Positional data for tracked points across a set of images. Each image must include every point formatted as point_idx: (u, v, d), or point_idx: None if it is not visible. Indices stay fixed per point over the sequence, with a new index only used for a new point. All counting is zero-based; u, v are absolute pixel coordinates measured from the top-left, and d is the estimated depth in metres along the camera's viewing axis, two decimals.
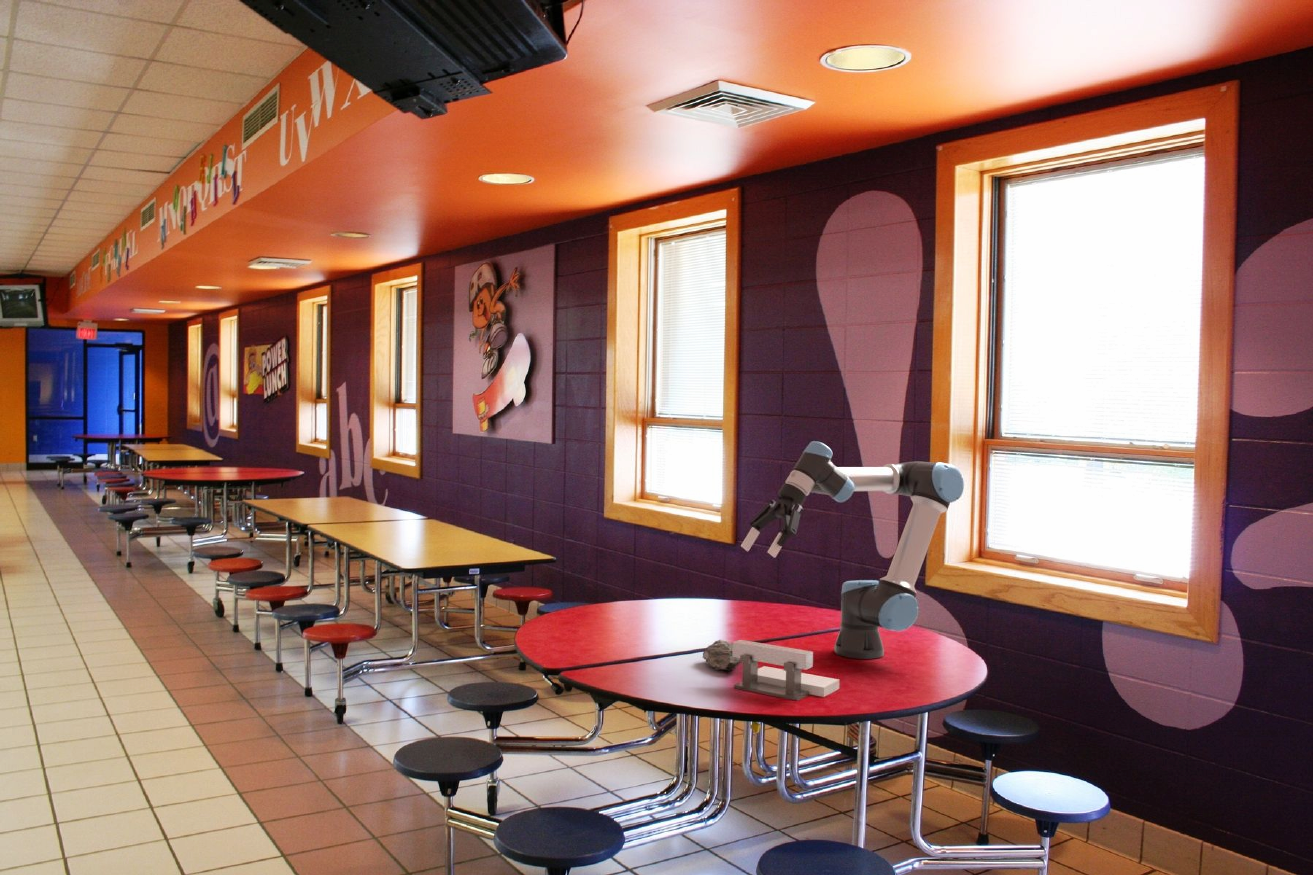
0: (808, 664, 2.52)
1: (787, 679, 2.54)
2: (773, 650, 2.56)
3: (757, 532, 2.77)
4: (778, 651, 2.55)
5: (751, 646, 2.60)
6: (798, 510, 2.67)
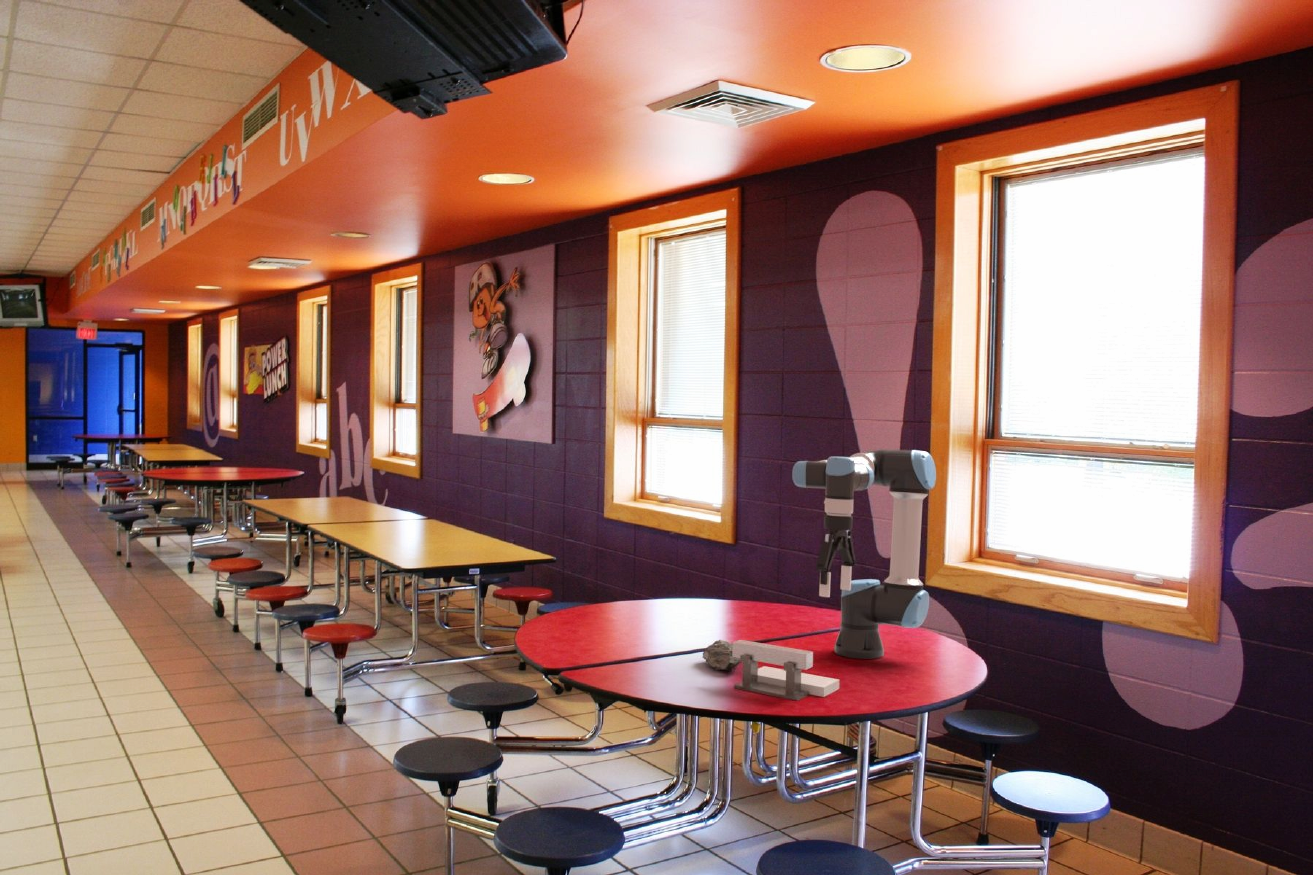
0: (808, 664, 2.52)
1: (787, 679, 2.54)
2: (773, 650, 2.56)
3: (848, 568, 2.64)
4: (778, 651, 2.55)
5: (751, 646, 2.60)
6: (826, 540, 2.53)
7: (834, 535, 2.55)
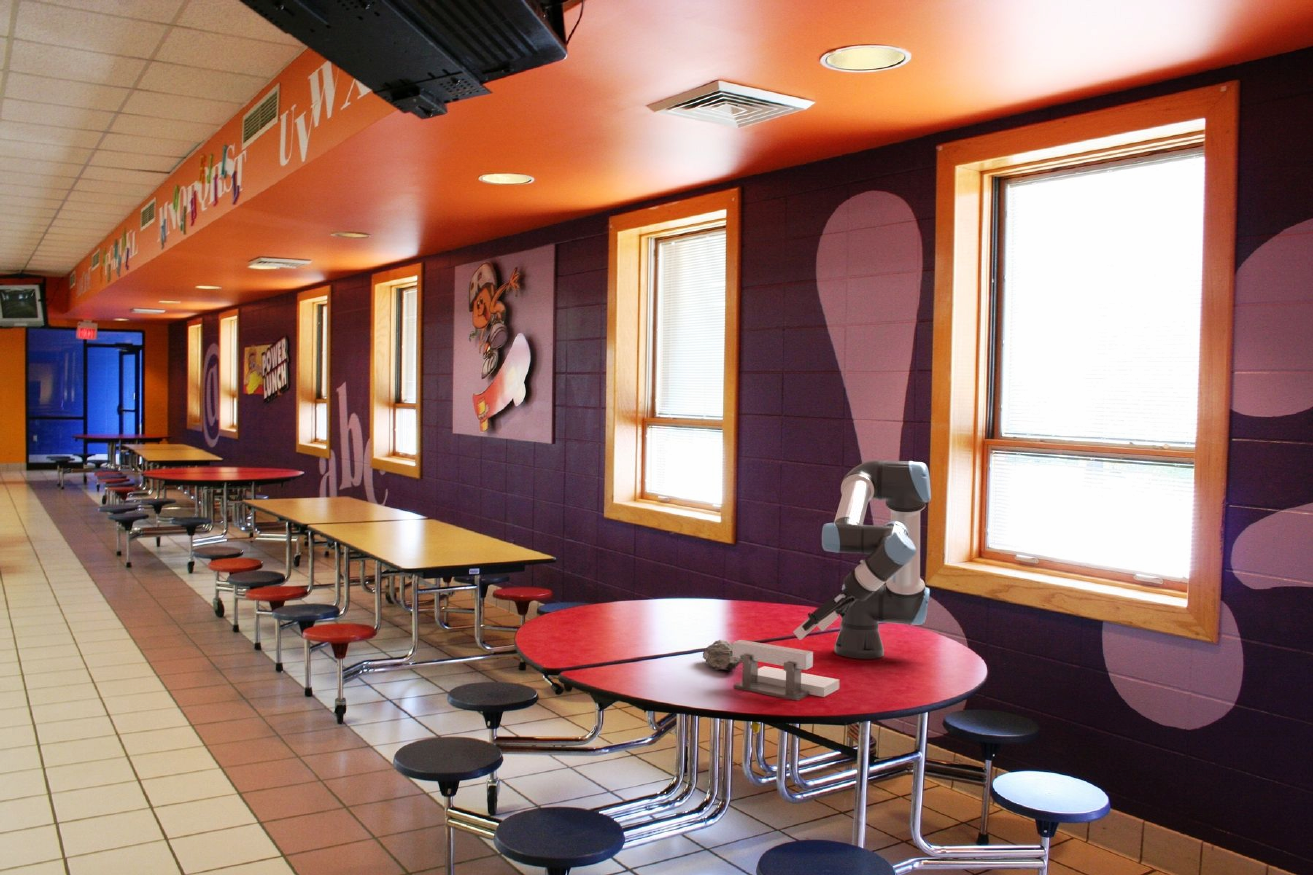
0: (808, 664, 2.52)
1: (787, 679, 2.54)
2: (773, 650, 2.56)
3: (835, 615, 2.55)
4: (778, 651, 2.55)
5: (751, 646, 2.60)
6: (835, 600, 2.41)
7: (846, 598, 2.43)
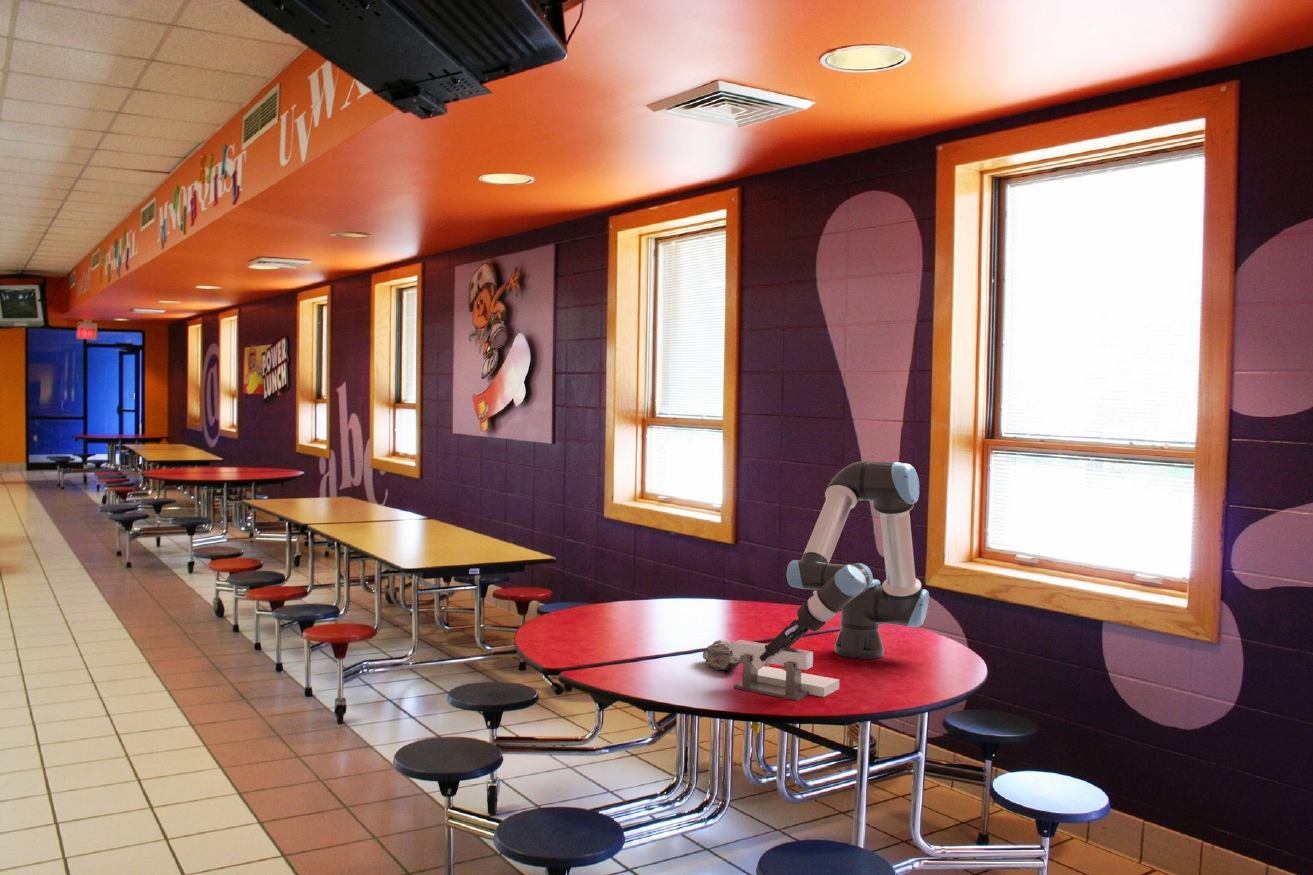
0: (808, 664, 2.52)
1: (787, 679, 2.54)
2: None
3: None
4: (778, 651, 2.55)
5: (751, 646, 2.60)
6: (785, 634, 2.50)
7: (797, 629, 2.50)
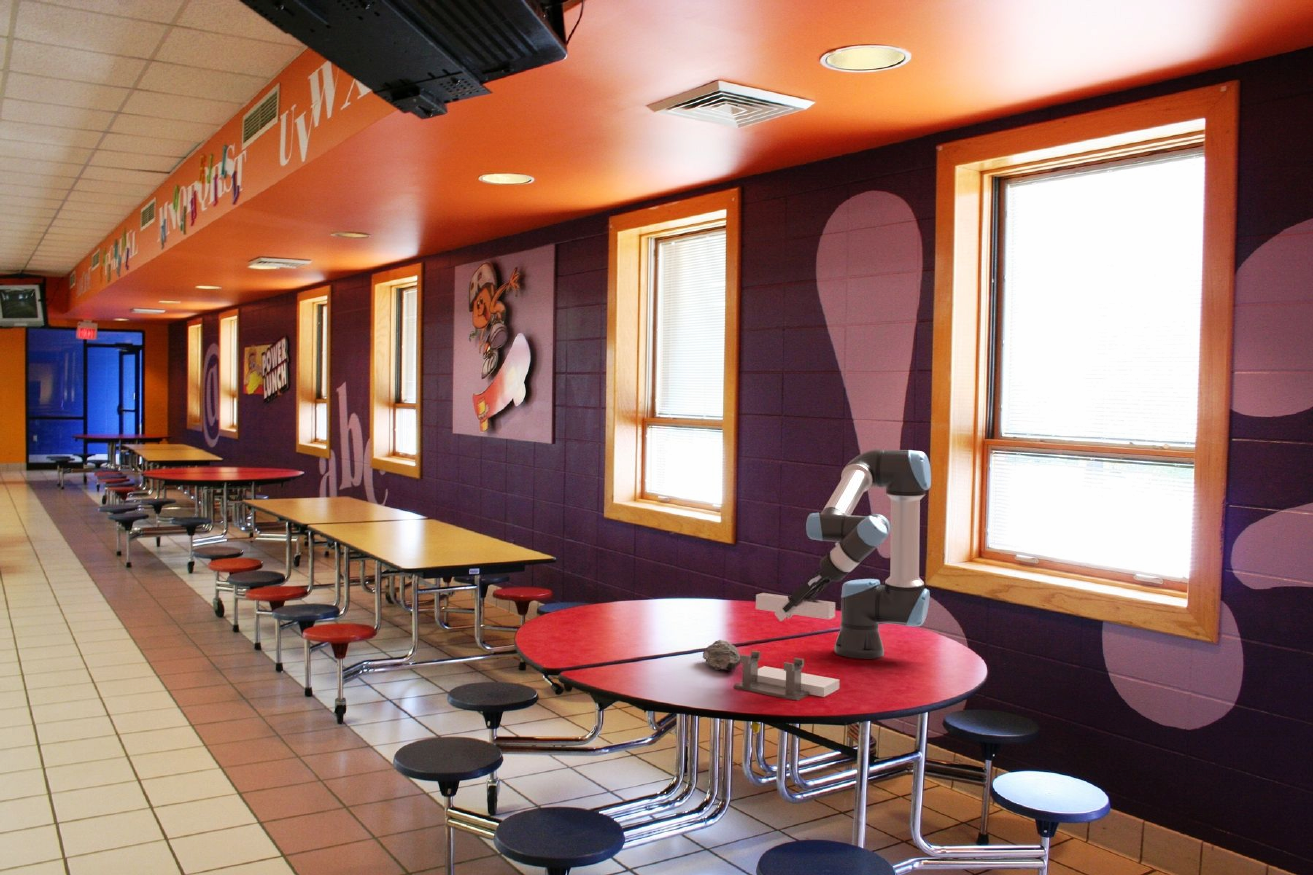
0: (831, 614, 2.58)
1: (787, 679, 2.54)
2: None
3: None
4: (801, 602, 2.62)
5: (774, 598, 2.66)
6: (808, 584, 2.56)
7: (820, 580, 2.56)
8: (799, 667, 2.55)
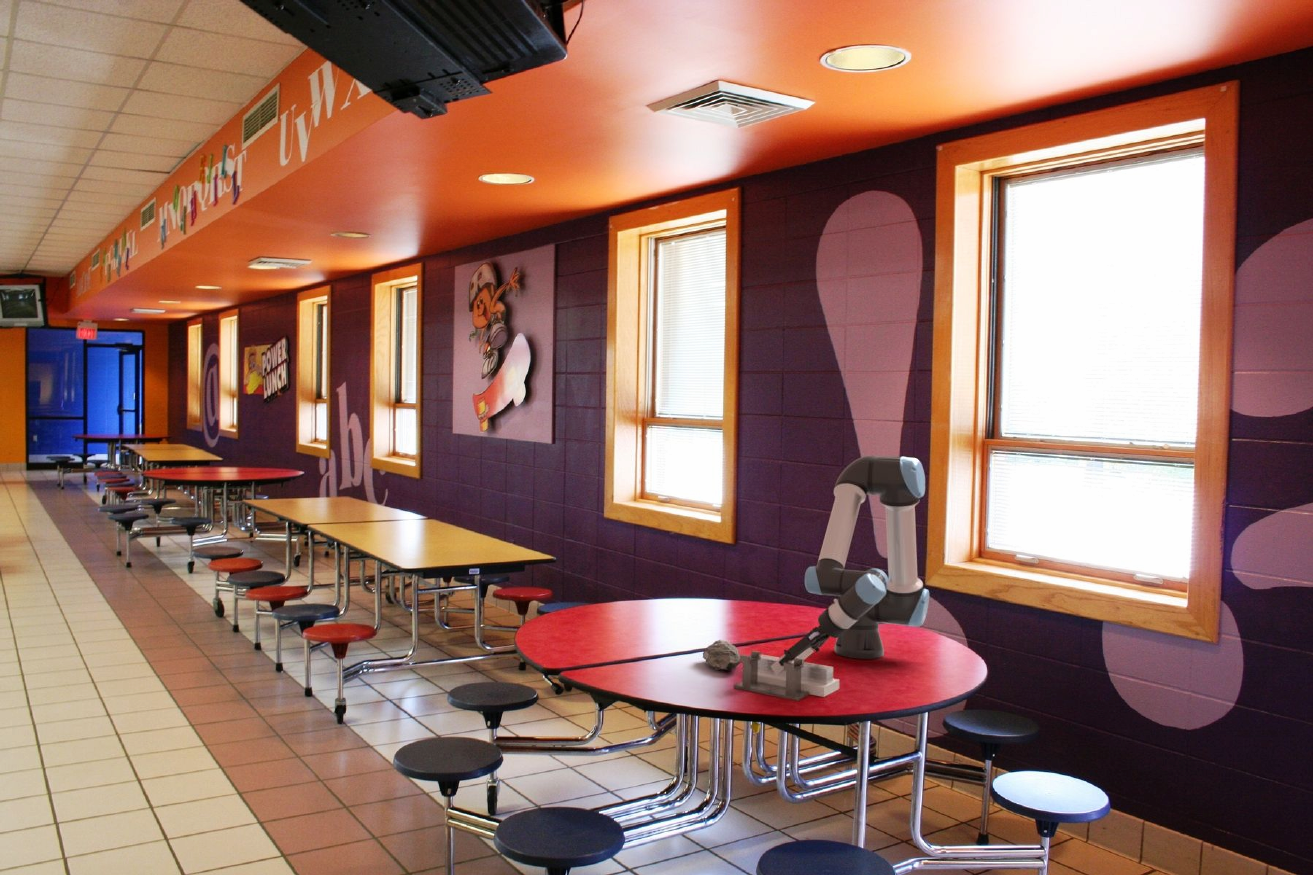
0: (828, 679, 2.59)
1: (787, 679, 2.54)
2: None
3: (810, 650, 2.69)
4: None
5: (772, 661, 2.66)
6: (810, 637, 2.55)
7: (819, 635, 2.57)
8: (799, 667, 2.55)
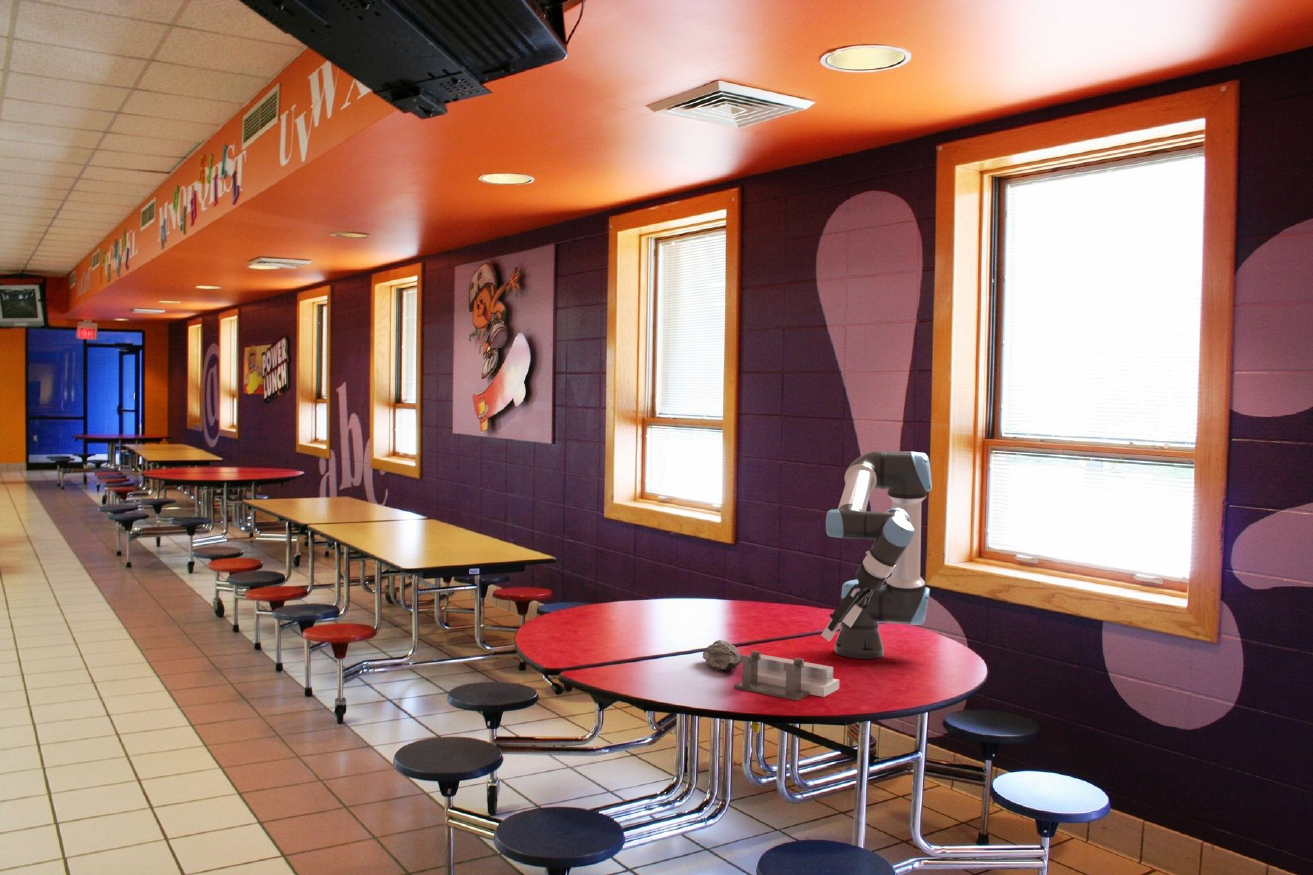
0: (828, 679, 2.59)
1: (787, 679, 2.54)
2: None
3: (858, 609, 2.64)
4: None
5: (772, 661, 2.66)
6: (851, 595, 2.50)
7: (861, 591, 2.51)
8: (799, 667, 2.55)
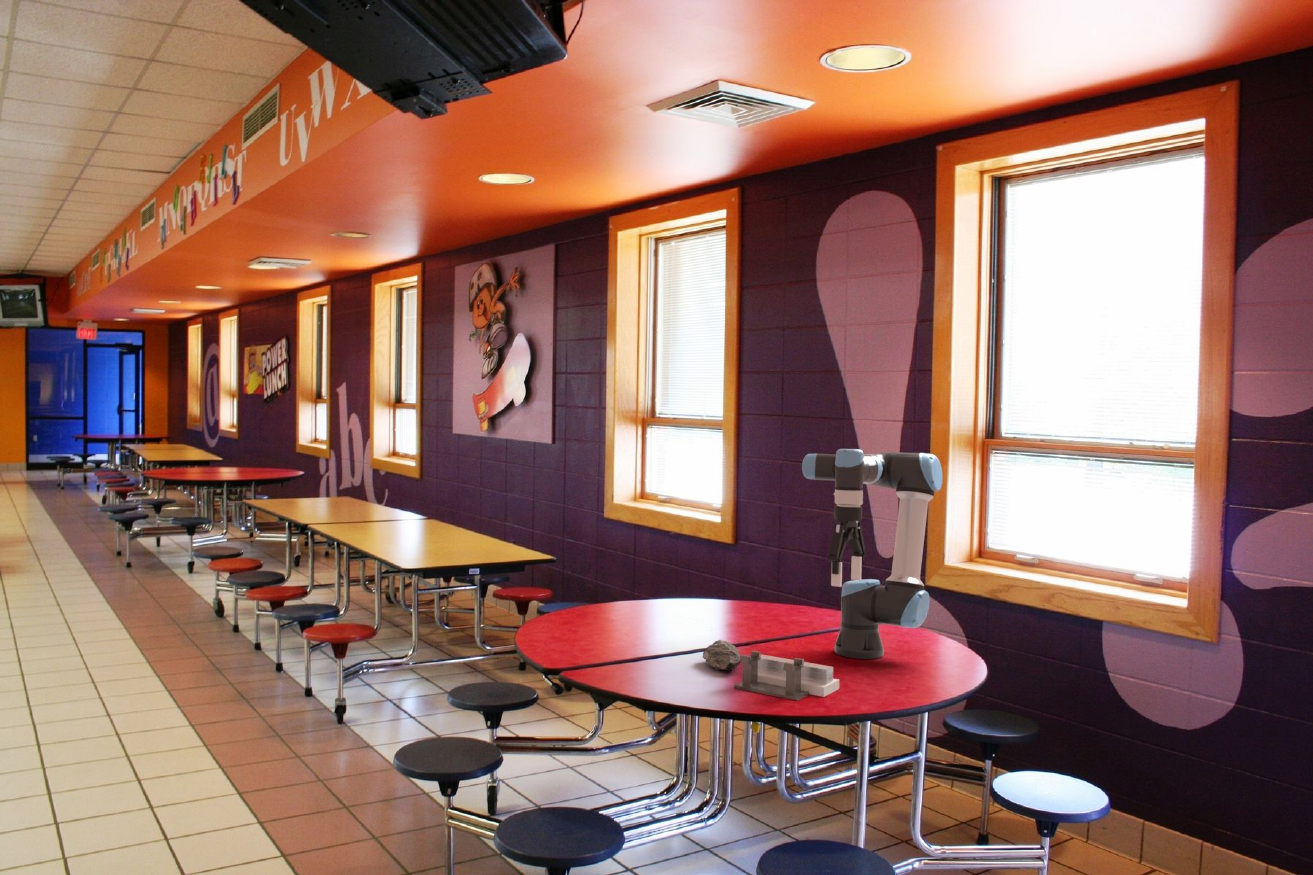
0: (828, 679, 2.59)
1: (787, 679, 2.54)
2: None
3: (858, 558, 2.69)
4: None
5: (772, 661, 2.66)
6: (837, 531, 2.58)
7: (845, 526, 2.60)
8: (799, 667, 2.55)
